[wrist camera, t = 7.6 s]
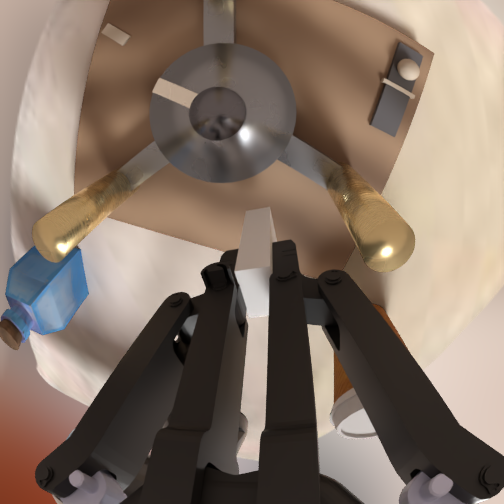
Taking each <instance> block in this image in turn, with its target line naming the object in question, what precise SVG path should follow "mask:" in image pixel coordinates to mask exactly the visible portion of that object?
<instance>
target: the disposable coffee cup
mask: <svg viewBox="0 0 504 504" xmlns="http://www.w3.org/2000/svg"><path fill="white" fill-rule="evenodd" d="M373 306H374V307H375V308H376V309H377V311H378V312H379V313H380V314H381V316H382V317H383V318H384V319H385V321H386V322H387V323H388V325H389V326H390V327H391V328H392V330H393V331H394V332H395V334H396V335H397V336H398V338H399V339H400V340H401V342H402V343H403V344H404V346H405V347H406V345H405V343H404V342H403V340H402V338H401V337H400V335H399V333H398V331H397V330H396V329H395V327H394V325H393V323H392V322H391V320H390V318H389V317H388V315H387V314H386V312H385V310H384V309H383V308H382V307H381V306H379V305H376V304H373ZM406 348H407V347H406ZM407 350H408V348H407ZM408 351H409V350H408ZM330 422H331V423H332V425H333V426H335V428H336V430H337V433H338V434H339V435H340V436H342V437H344V438H349V439H367V438H374V437H378V435H377V433H376V431H375V429H374V427H373V425H372V423H371V421H370V419H369V417H368V415H367V413H366V411H365V409H364V408H363V406H362V404H361V402H360V400H359V398H358V396H357V394H356V392H355V390H354V388H353V386H352V384H351V382H350V380H349V378H348V376H347V375H346V373H345V371H344V369H343V367H342V365H341V363H340V361H339V359H338V357H337V356H336V354H335V352H334V405H333V408H332V411H331V413H330Z"/></svg>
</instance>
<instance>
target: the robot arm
mask: <svg viewBox="0 0 504 504" xmlns="http://www.w3.org/2000/svg"><path fill="white" fill-rule="evenodd" d="M201 276H202V278H203V281H204V284H205V286H206V290H205V293H204V294H202V295H199V296H196V297H193V298H190V296H189V295H188V294H187V293H184V292H178V293H174V294H172V295H171V296H169V297H168V298H167V299H166V300H165V301H164V302H163V303H162V305H161V306H160V307H159V309H158V310H157V311H156V313H155V314H154V315H153V317H152V318H151V319H150V321H149V322H148V324H147V325H146V326H145V328H144V329H143V330H142V332H141V333H140V335H139V336H138V337H137V339H136V340H135V341H134V343H133V344H132V346H131V347H130V348H129V350H128V351H127V353H126V354H125V356H124V357H123V358H122V360H121V361H120V363H119V364H118V365H117V367H116V368H115V370H114V371H113V373H112V374H111V376H110V377H109V378H108V380H107V381H106V383H105V384H104V386H103V387H102V389H101V390H100V392H99V393H98V395H97V396H96V398H95V399H94V401H93V402H92V404H91V405H90V407H89V408H88V410H87V411H86V413H85V414H84V416H83V417H82V419H81V421H80V422H79V424H78V425H77V427H76V428H75V429H74V430H73V431H72V432H71V433H70V434H69V436H68V437H67V439H66V440H65V441H64V442H63V443H62V444H61V445H60V446H59V447H57V449H55V450H54V451H53V452H52V453H51V454H50V455H48V456H47V457H46V458H45V459H43V460H42V461H41V462H40V463H39V465H38V466H37V468H36V471H35V478H36V482H37V484H38V485H39V487H40V488H42V489H43V490H45V491H47V492H49V493H51V494H53V497H54V499H55V500H56V502H57V504H364V503H363V502H362V501H360V500H359V499H358V498H357V497H356V496H355V495H353V494H352V493H351V492H350V491H349V490H348V489H347V488H346V487H344V486H343V485H342V484H341V483H339V482H337V481H336V480H334V479H332V478H330V477H328V476H326V475H323V474H320V468H319V451H318V434H317V420H316V407H315V396H314V385H313V374H312V364H311V355H310V346H309V337H308V328H307V324H311V325H321V326H322V329H323V331H324V333H325V335H326V337H327V339H328V341H329V342H330V344H331V346H332V348H333V350H334V352H335V354H336V356H337V357H338V359H339V361H340V363H341V365H342V367H343V369H344V371H345V373H346V375H347V376H348V378H349V380H350V382H351V384H352V386H353V388H354V390H355V392H356V394H357V396H358V398H359V400H360V402H361V404H362V406H363V408H364V409H365V411H366V413H367V415H368V417H369V419H370V421H371V423H372V425H373V427H374V429H375V431H376V433H377V435H378V437H379V439H380V441H381V443H382V445H383V447H384V449H385V452H386V454H387V456H388V457H389V460H390V462H391V464H392V465H393V467H394V469H395V471H396V472H397V474H398V475H399V476H400V477H401V479H402V480H403V482H404V483H405V484H406V486H405V487H404V489H403V490H402V492H401V494H400V497H399V504H478V503H480V502H483V501H485V500H487V499H490V498H491V497H493V496H495V495H497V494H498V493H499V492H500V491H501V490H502V488H503V487H504V456H503V455H502V454H500V453H499V452H497V451H496V450H494V449H493V448H492V447H490V446H489V445H487V444H486V443H484V442H483V441H482V440H480V439H479V438H477V437H476V436H474V435H473V434H472V433H470V432H469V431H467V430H466V429H465V428H463V427H462V426H460V425H459V423H458V422H457V420H456V419H455V417H454V416H453V414H452V412H451V411H450V409H449V408H448V406H447V405H446V403H445V402H444V401H443V399H442V397H441V396H440V395H439V393H438V392H437V390H436V389H435V387H434V386H433V384H432V383H431V381H430V380H429V379H428V377H427V376H426V374H425V373H424V372H423V370H422V369H421V367H420V366H419V365H418V363H417V362H416V360H415V359H414V358H413V356H412V355H411V354H410V352H409V351H408V350H407V348H406V347H405V346H404V344H403V343H402V342H401V340H400V339H399V338H398V336H397V335H396V334H395V332H394V331H393V330H392V328H391V327H390V326H389V325H388V323H387V322H386V321H385V319H384V318H383V317H382V316H381V314H380V313H379V312H378V311H377V309H376V308H375V307H374V306H373V304H372V303H371V302H370V301H369V299H368V298H367V297H366V296H365V294H364V293H363V292H362V291H361V289H360V288H359V287H358V286H357V285H356V283H355V282H354V281H353V280H352V279H351V277H350V276H349V275H348V274H347V273H346V272H344V271H342V270H335V269H333V270H327V271H325V272H323V273H321V274H320V275H319V276H318V279H313V278H308V277H305V276H304V275H302V274H301V273H300V269H299V263H298V256H297V250H296V244H295V243H294V242H293V241H292V240H291V239H290V240H284V241H278V242H277V239H276V234H275V229H274V224H273V219H272V214H271V210H270V207H266V208H260V209H255V210H249V211H246V214H245V219H244V224H243V229H242V234H241V240H240V245H239V249H233V250H227V251H226V252H225V253H224V254H223V255H222V256H221V259H220V262H217V263H213V264H210V265H208V266H206V267H205V268H204V269H203V270H202V271H201ZM246 311H247V314H248V317H249V318H255V317H263V316H269V326H268V364H267V395H266V422H265V429H264V431H263V432H262V434H261V439H260V453H259V470H258V471H253V472H249V473H245V474H239V468H238V463H237V458H236V455H237V453H238V451H239V449H240V447H241V445H242V443H243V441H244V439H245V437H246V434H247V427H248V421H247V419H246V417H245V416H244V415H242V414H241V413H240V409H241V398H242V387H243V377H244V366H245V355H246V344H247V333H248V323H247V320H246ZM176 335H178V339H177V340H176V341H175V340H174V339H175V337H176ZM151 449H152V451H151V455H148V454H149V452H150V450H151Z"/></svg>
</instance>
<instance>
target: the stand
mask: <svg viewBox="0 0 504 504" xmlns="http://www.w3.org/2000/svg"><path fill="white" fill-rule="evenodd" d="M203 19H204V0H110V3H109V5H108V8H107V11H106V14H105V16H104V19H103V22H102V25H101V28H100V32H99V35H98V38H97V42H96V45H95V49H94V52H93V56H92V60H91V64H90V68H89V73H88V77H87V82H86V87H85V92H84V97H83V103H82V109H81V116H80V123H79V131H78V139H77V150H76V162H75V181H74V195H75V194H77V193H78V192H80V191H81V190H83V189H84V188H86V187H87V186H89V185H91V184H92V183H94V182H95V181H97V180H99V179H100V178H102V177H104V176H105V175H107V174H109V173H110V172H112V171H114V170H115V169H117V168H119V167H121V166H124V165H125V164H126V163H127V162H129V161H130V160H131V159H132V158H133V157H135V156H136V155H137V154H138V153H140V152H141V151H142V150H143V149H145V148H146V147H147V146H148V145H150V144H151V143H152V142H154V141H155V140H154V137H153V134H152V131H151V126H150V117H149V110H150V102H151V98H152V94H153V92H152V91H153V89H154V87H155V85H156V83H157V81H158V79H159V78H160V77H161V76H162V74H163V73H164V72H165V70H166V69H167V68H168V67H169V66H170V65H171V64H172V63H173V62H174V61H175V60H177V59H178V58H179V57H181V56H182V55H184V54H186V53H187V52H189V51H191V50H193V49H196V48H198V47H201V46H204V26H203ZM236 43H237V44H240V45H244V46H247V47H250V48H253V49H255V50H257V51H259V52H261V53H263V54H265V55H266V56H267V57H269V58H270V59H271V60H273V61H274V62H275V63H276V64H277V65H278V66H279V67H280V68H281V70H282V71H283V72H284V74H285V75H286V77H287V78H288V80H289V82H290V84H291V87H292V89H293V92H294V96H295V101H296V112H297V113H296V123H295V127H294V132H293V134H294V135H295V136H297V137H299V138H300V139H302V140H304V141H305V142H307V143H308V144H310V145H312V146H313V147H315V148H316V149H318V150H320V151H321V152H323V153H324V154H326V155H327V156H329V157H330V158H332V159H333V160H335V161H336V162H344V163H346V164H348V165H350V166H351V167H352V168H353V169H354V170H355V171H356V172H357V173H358V174H359V175H360V176H361V177H362V178H364V179H365V180H366V181H367V182H368V183H369V184H370V185H371V186H372V187H373V188H374V189H375V190H376V191H377V192H378V193H379V194H380V195H381V193H382V191H383V189H384V187H385V185H386V182H387V180H388V178H389V176H390V173H391V171H392V169H393V167H394V164H395V162H396V160H397V157H398V155H399V152H400V150H401V148H402V145H403V143H404V140H405V138H406V135H407V133H408V130H409V127H410V125H411V122H412V119H413V117H414V114H415V111H416V109H417V106H418V103H419V100H420V97H421V94H422V91H423V88H424V85H425V82H426V79H427V76H428V73H429V69H430V66H431V63H432V59H433V56H434V53H433V52H431V51H430V50H428V49H427V48H425V47H424V46H422V45H421V44H419V43H418V42H416V41H414V40H413V39H411V38H409V37H408V36H406V35H404V34H403V33H401V32H399V31H397V30H396V29H394V28H392V27H390V26H388V25H386V24H384V23H383V22H381V21H379V20H377V19H375V18H373V17H371V16H368V15H366V14H364V13H362V12H360V11H358V10H355V9H353V8H351V7H348V6H346V5H343V4H341V3H338V2H336V1H333V0H236ZM266 207H270V210H271V214H272V219H273V224H274V229H275V234H276V239H277V242H278V241H284V240H290V239H291V240H292V241H293V242H294V243H295V244H296V250H297V256H298V263H299V269H300V273H301V274H304V275H307V276H311V277H314V278H318V276H319V275H320V274H321V273H323V272H325V271H327V270H333V269H335V270H343V268H344V267H345V265H346V263H347V261H348V259H349V257H350V256H351V254H352V252H353V250H354V248H355V246H356V244H355V242H354V240H353V238H352V236H351V234H350V232H349V230H348V228H347V226H346V224H345V222H344V221H343V219H342V217H341V215H340V213H339V211H338V209H337V208H336V206H335V204H334V202H333V200H332V199H331V197H330V195H329V193H328V192H327V190H326V189H325V188H323V187H322V186H320V185H319V184H317V183H315V182H314V181H312V180H311V179H309V178H307V177H306V176H304V175H303V174H301V173H299V172H298V171H296V170H294V169H293V168H291V167H289V166H288V165H286V164H284V163H282V162H281V161H279V160H276V161H275V162H274V163H273V164H272V165H271V166H269V167H268V168H267V169H265V170H264V171H262V172H261V173H259V174H257V175H255V176H253V177H251V178H248V179H245V180H242V181H237V182H232V183H212V182H206V181H202V180H198V179H195V178H193V177H191V176H188V175H186V174H185V173H183V172H181V171H180V170H178V169H177V168H176V167H174V166H173V165H172V164H171V163H168V164H167V165H166V166H164V167H163V168H161V169H160V170H159V171H157V172H156V173H154V174H153V175H152V176H150V177H149V178H148V179H146V180H145V181H144V182H142V183H141V184H140V186H139V188H138V190H137V191H136V192H135V193H134V194H133V195H132V196H131V197H129V198H128V199H127V200H126V201H125V202H124V203H122V204H121V205H120V206H119V207H118V208H117V209H115V210H114V211H113V212H112V213H111V214H110V215H109V216H107V217H108V218H111V219H115V220H118V221H121V222H125V223H128V224H131V225H135V226H138V227H141V228H145V229H148V230H152V231H155V232H158V233H162V234H165V235H169V236H172V237H175V238H179V239H182V240H186V241H189V242H193V243H196V244H199V245H203V246H206V247H210V248H213V249H217V250H220V251H223V252H226V251H227V250H233V249H239V245H240V240H241V234H242V229H243V224H244V219H245V214H246V211H249V210H255V209H260V208H266Z"/></svg>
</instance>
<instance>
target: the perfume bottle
mask: <svg viewBox="0 0 504 504" xmlns="http://www.w3.org/2000/svg"><path fill="white" fill-rule="evenodd" d="M88 294H89V292H88V287H87V283H86V278H85V272H84V267H83V261H82V255H81V249H77V248H73V249H72V250H71V251H70V252H69V253H68V255H67V256H66V257H65V258H64V259H63V260H62V261H60V262H57V263H54V262H50V261H48V260H47V259H45V258H44V257H43V256H42V255H41V254H40V253H39V251H38V250H37V248H36V246H34V247H32V248H31V249H30V250H29V251H28V252H27V253H26V254H25V255H24V256H23V257H22V258H21V259H19V260H18V261H17V262H16V263H15V264H14V265H13V266H12V267H11V268H10V270H9V276H8V281H7V287H6V293H5V295H6V297H7V300H8V302H9V305H10V307H11V309H7V310H6V311H5V312H4V313H3V315H2V316H1V322H0V337H1V339H2V340H3V341H4V342H5V343H6V344H7V345H8V346H10V347H11V348H12V349H14V350H18V349H19V346H20V343H21V342H22V343H23V342H25V341H26V340H27V338H28V337H29V335H30V331H29V330H33V331H35V332H37V333H39V334H41V335H45V334H49V333H52V332H56V331H60V330H63V329H65V327H66V326H67V324H68V323H69V321H70V320H71V318H72V317H73V315H74V314H75V312H76V311H77V310H78V308H79V307H80V305H81V304H82V302H83V301H84V300H85V298H86V297H87V295H88Z"/></svg>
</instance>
